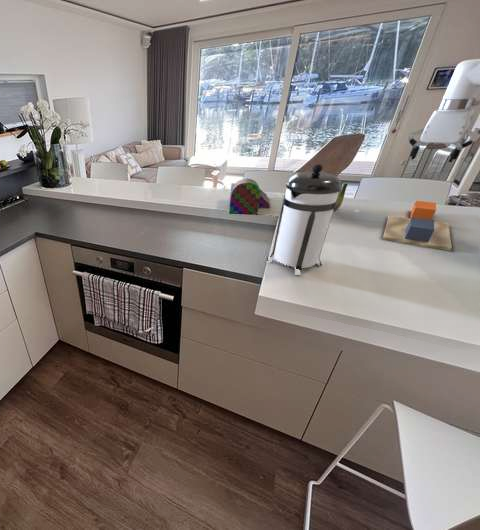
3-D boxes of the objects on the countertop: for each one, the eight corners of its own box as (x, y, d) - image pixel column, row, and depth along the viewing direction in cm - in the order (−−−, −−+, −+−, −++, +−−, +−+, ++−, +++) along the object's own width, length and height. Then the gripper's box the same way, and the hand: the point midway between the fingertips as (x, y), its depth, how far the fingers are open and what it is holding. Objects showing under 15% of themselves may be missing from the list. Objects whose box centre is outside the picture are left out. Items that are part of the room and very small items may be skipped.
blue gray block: (427, 232, 96) (434, 220, 94) (427, 242, 91) (434, 229, 89) (405, 229, 100) (411, 217, 98) (404, 238, 94) (410, 226, 92)
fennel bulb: (341, 210, 121) (350, 182, 115) (331, 212, 120) (339, 183, 114) (329, 206, 126) (337, 178, 120) (320, 208, 125) (327, 180, 119)
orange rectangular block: (430, 213, 111) (435, 202, 108) (430, 221, 105) (436, 210, 103) (411, 211, 114) (415, 200, 112) (410, 218, 109) (415, 207, 106)
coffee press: (330, 280, 80) (367, 171, 65) (266, 272, 86) (287, 170, 71) (320, 252, 94) (349, 156, 78) (266, 247, 100) (283, 156, 84)
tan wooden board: (447, 226, 101) (448, 223, 101) (450, 250, 88) (451, 247, 87) (388, 218, 111) (389, 215, 110) (382, 239, 97) (383, 236, 97)
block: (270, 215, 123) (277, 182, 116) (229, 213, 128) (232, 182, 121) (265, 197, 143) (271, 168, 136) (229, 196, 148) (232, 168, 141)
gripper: (497, 103, 89) (468, 160, 98) (422, 105, 101) (401, 156, 109) (495, 105, 85) (465, 164, 94) (417, 107, 97) (396, 159, 106)
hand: (431, 160), depth 102 cm, fingers open, 9 cm apart
